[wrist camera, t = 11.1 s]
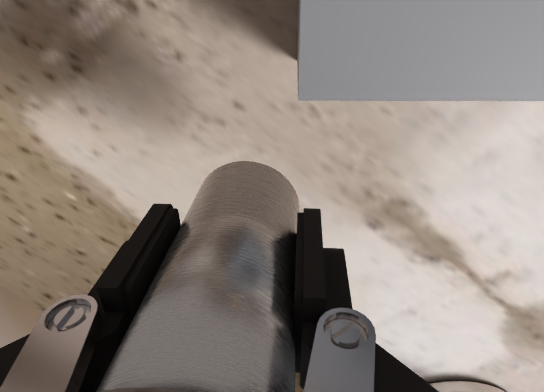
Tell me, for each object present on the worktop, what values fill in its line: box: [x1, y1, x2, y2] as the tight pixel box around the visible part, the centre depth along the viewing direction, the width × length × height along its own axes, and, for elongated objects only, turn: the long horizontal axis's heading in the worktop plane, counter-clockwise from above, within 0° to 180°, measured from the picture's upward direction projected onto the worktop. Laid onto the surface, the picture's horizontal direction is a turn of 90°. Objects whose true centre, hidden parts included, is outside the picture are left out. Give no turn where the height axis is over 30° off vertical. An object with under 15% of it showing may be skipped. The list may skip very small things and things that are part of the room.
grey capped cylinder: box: [96, 161, 299, 392], centre depth 10 cm, size 5×5×10 cm
